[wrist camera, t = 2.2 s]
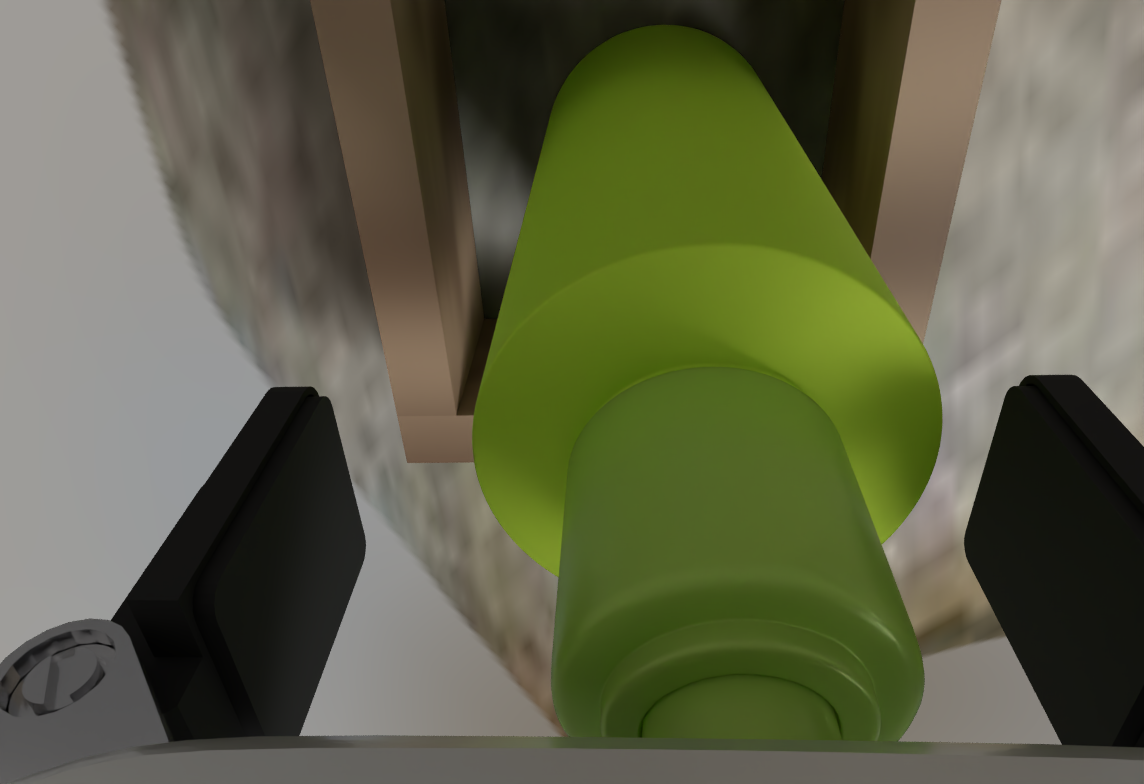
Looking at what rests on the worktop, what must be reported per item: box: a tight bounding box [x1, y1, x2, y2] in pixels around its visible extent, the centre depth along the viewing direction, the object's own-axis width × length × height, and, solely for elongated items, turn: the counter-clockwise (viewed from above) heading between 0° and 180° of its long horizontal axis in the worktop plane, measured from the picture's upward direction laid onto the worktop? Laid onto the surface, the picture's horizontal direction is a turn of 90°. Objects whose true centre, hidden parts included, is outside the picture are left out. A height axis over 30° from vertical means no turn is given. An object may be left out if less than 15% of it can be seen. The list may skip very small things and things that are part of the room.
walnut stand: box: [310, 0, 1001, 463], centre depth 19 cm, size 12×12×5 cm
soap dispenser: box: [472, 25, 942, 742], centre depth 13 cm, size 6×7×20 cm
